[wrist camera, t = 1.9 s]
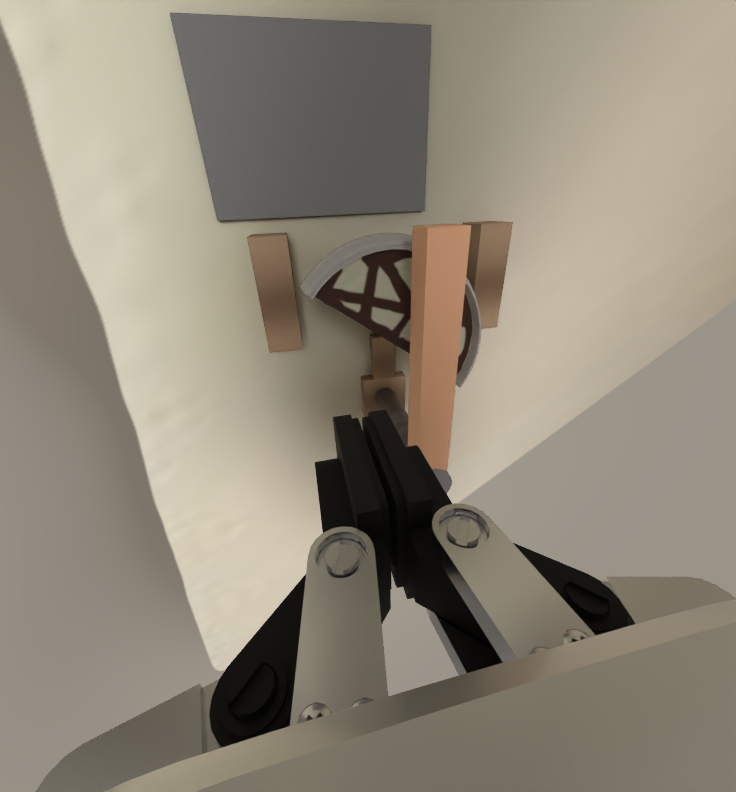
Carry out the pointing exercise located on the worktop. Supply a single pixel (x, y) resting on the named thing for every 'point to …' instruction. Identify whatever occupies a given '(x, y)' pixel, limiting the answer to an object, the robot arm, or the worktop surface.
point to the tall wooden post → (435, 338)
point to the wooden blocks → (384, 382)
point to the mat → (308, 113)
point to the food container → (385, 292)
